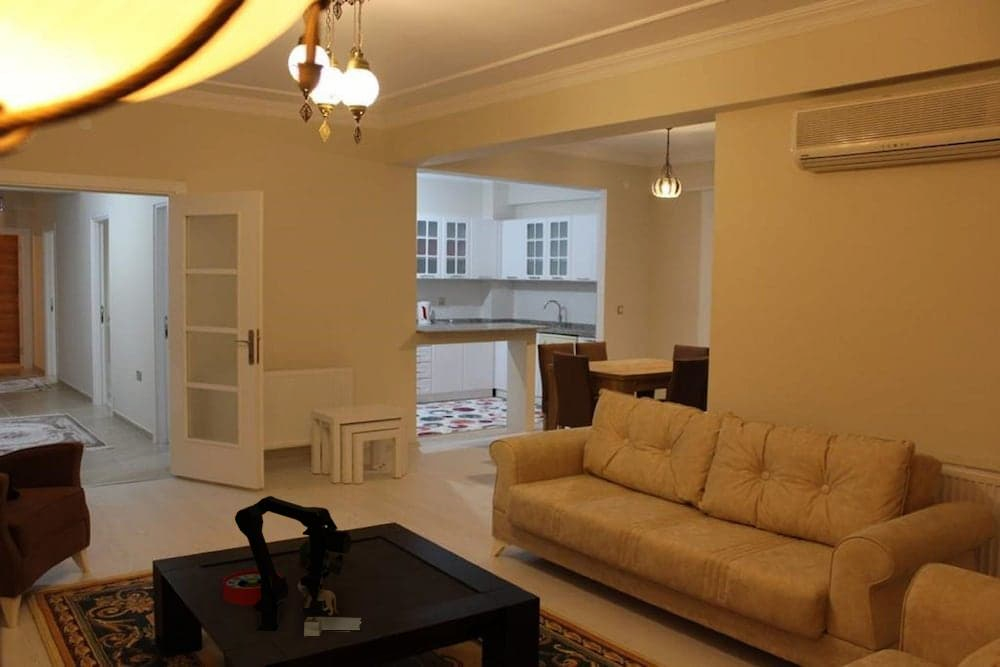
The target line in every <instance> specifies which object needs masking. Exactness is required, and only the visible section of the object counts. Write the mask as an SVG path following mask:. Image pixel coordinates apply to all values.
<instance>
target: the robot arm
mask: <svg viewBox="0 0 1000 667" xmlns="http://www.w3.org/2000/svg"><path fill="white" fill-rule="evenodd" d="M267 512H269V513H272V514H276V515H279V516H282V517H286V518H289V519H293V520H295V521H298V522H299V523H301V524H302V526H304V527H306V529H305V530H304V531H302V535H304V536H308V540H309V553H308V554H307V558H308V567H307V568H306V572H305V573H303V575H302V576H301V577H300V578H299V582H300V585H306V587H307V589H308V591H309V593H310V595H311V597H312V599H313V601H317V599H318V593H319V588H320V589H322V590H324V589H323V588H324V584H325V581H326V578H327V577H328V576H329V575H330V574H331V573H333V574H335V576H341V575H342V574H343V571H344V568H345V566H346V564H347V563H346V560H345V556H344V555H343V554H348V553H349V552H350V550H351V548H352V542H353V540H352V538H351V537H352V536H351V535H350V534H349V530H341V529H338V526H337V525H336V523H335V522H334V520H333V518H332V517H331V513H330V512H329V509H327V508H326V507H322V506H321V507H319V506H303V505H300V504H296V503H293V502H289V501H287V500H282V499H280V498H277V497H274V496H272V495H268V496H266V497H264V498H261V499H260V500H259V501H257V502H256V503H254V504H252V505H249V506H247V507H244V508H242V509H240V510H238V511H236V514H235V516H234V520H235V524H236V526H237V527H238V529H239V531H240V532H241V533H242V534H243V535H244V537H245V536H246V538H247V542H248V545H249V547H250V551H251V553H252V556H253V559H254V562H255V565H256V568H257V570H258V571H259V574H260V577H261V588H260V592H261V597H262V598H261V599H260V600H259V601H258V602H257V603H255V604H254V605H253V606H254V610H255V611H256V612H259V624H258V625H257V627H256V631H257V630H258V631H277V630H278V629H279V627H280V626H281V625H282V620H279V608H280V606H281V605H283V604H284V603H285V602H284V601H285V600H286V599H287V598H288V596H289V589H290V587H289V586H288V584H287V579H286V577H285V576H282V578H280V577H279V576H278V575H277V573H278V572H276V569H275V565H274V562H273V559H272V556H271V553H270V550H269V548H268V546H267V545H268V544H267V542H266V539H265V535H264V533H263V527H264V519H263V518H264V517H263V516H264V515H265V514H266V513H267ZM324 526H325V527H326V528H324V529H323V527H324ZM331 552H332V553H339V554H338V555H337V556H335V555H334V556H331V555H330V554H331Z"/></svg>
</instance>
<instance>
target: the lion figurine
mask: <svg viewBox="0 0 1000 667" xmlns="http://www.w3.org/2000/svg"><path fill="white" fill-rule="evenodd" d="M297 587H298V591H300V593H301V594H302V596H303V598H304V597H307V602H306V603H305V606H304V607H305V608H308V607H309V606H310V602H311V600H312V597H311V595H310V593H309V591H308V589H307V587H306V585H300V581H299V582H298V585H297ZM336 598H337V597H336V594H335V593H334V592H333V591H332V590H328V589H327V590H326V589H320V588H319V593H318V599H317V600H318V601H323V600H325V602H326V603H325V608H323V610H324V611H327V610H329V611H330V612H328V616H329V617H332V616H333V614H334V612H335V613H336V614H338V615H339V614H340V612H339V611H338V610H337V599H336ZM332 602H333V603H332Z"/></svg>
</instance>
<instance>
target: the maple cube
mask: <svg viewBox="0 0 1000 667" xmlns="http://www.w3.org/2000/svg"><path fill="white" fill-rule="evenodd" d="M321 617H322V616H314V617H313V616H311V617H310V616H307V618H306V619H305V621H304V625H303V626H304V629H303V630H304V631H303V635H304V637H306V636H319V637H320V635H321V633H322V632H323V631H322V618H321Z"/></svg>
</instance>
